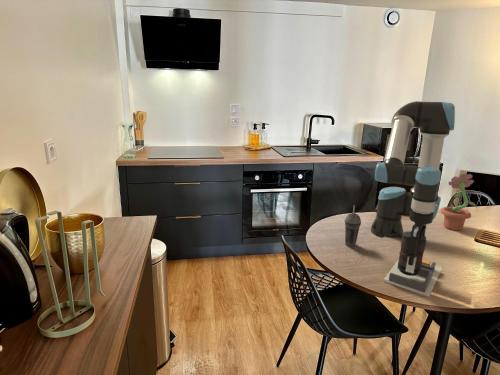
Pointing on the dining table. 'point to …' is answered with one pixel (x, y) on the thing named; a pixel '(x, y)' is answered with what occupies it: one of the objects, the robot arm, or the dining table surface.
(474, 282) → the dining table surface
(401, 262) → the camera lens
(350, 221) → the beverage cup
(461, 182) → the decorative flower
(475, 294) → the dining table surface
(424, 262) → the orange rectangular brick
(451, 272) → the dining table surface
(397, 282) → the board
